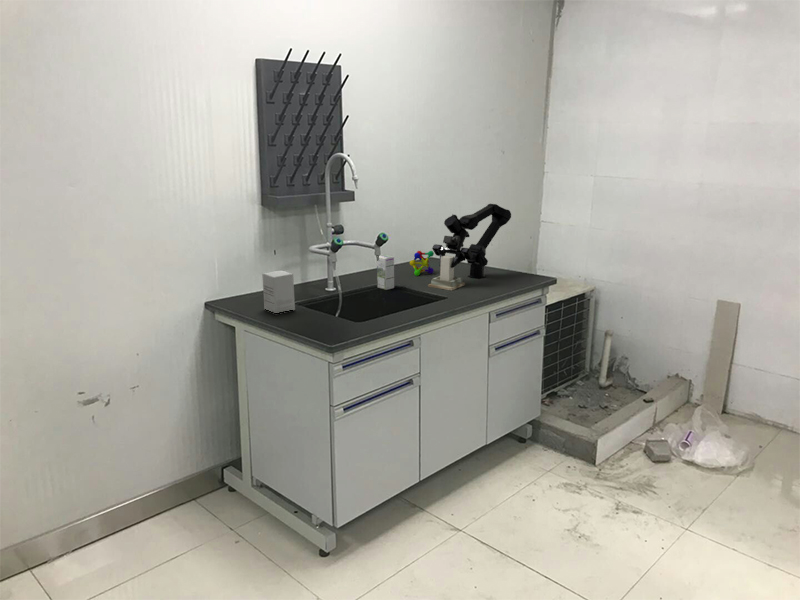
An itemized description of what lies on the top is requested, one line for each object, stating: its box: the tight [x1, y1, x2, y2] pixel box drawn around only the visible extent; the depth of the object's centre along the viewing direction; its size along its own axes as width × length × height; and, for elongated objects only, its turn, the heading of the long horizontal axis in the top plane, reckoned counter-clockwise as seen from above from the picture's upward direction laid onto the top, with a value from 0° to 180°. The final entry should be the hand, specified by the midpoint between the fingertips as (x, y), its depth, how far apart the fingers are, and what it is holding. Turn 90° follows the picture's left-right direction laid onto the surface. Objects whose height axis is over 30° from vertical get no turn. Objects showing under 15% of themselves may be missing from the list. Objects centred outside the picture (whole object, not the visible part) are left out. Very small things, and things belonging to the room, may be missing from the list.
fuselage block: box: [439, 255, 455, 281], centre depth 286 cm, size 4×4×12 cm
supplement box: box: [261, 269, 296, 314], centre depth 247 cm, size 9×9×15 cm
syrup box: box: [376, 254, 395, 291], centre depth 282 cm, size 6×6×14 cm
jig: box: [427, 275, 466, 291], centre depth 288 cm, size 12×12×4 cm
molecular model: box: [409, 250, 435, 277], centre depth 310 cm, size 11×7×12 cm, turn 125°
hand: (445, 266), depth 285 cm, fingers open, 6 cm apart
